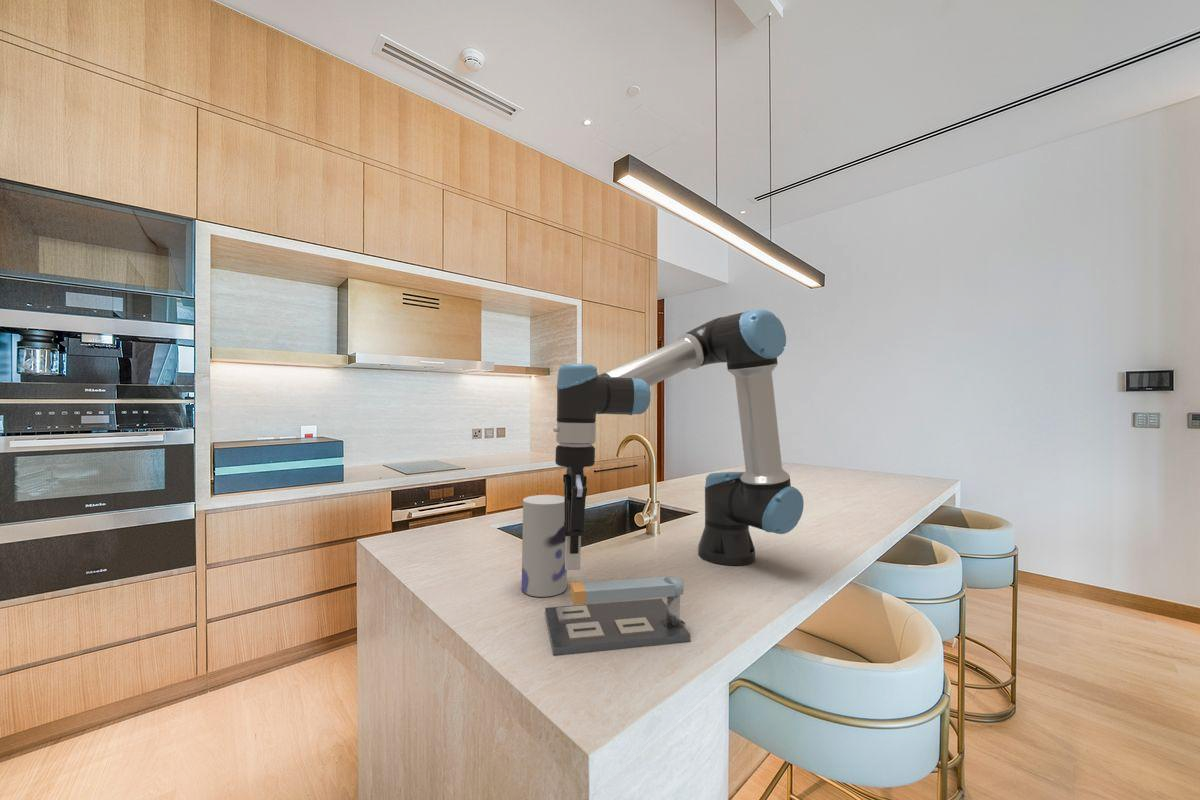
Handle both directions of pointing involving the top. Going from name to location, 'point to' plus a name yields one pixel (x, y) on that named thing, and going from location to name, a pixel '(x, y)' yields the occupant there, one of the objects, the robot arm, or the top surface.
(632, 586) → the grey long bar
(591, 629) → the slotted grey board
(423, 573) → the top surface
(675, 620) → the post
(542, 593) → the container
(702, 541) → the robot arm
